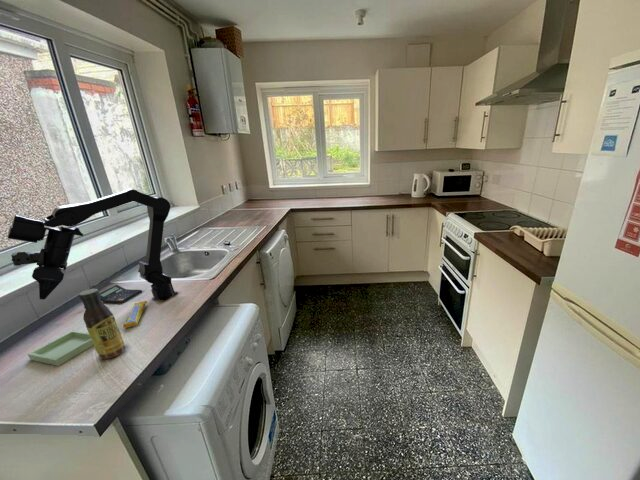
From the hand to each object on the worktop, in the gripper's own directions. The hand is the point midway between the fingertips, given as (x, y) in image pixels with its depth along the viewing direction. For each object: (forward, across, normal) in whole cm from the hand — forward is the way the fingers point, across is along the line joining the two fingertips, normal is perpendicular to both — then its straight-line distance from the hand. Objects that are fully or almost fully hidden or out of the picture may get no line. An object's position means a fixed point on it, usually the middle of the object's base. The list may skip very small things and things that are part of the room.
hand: (44, 295), depth 88 cm
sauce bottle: (+9, +23, +18) cm, 31 cm away
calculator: (+4, -19, +21) cm, 28 cm away
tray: (+13, +11, +8) cm, 19 cm away
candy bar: (+4, +4, +24) cm, 25 cm away
